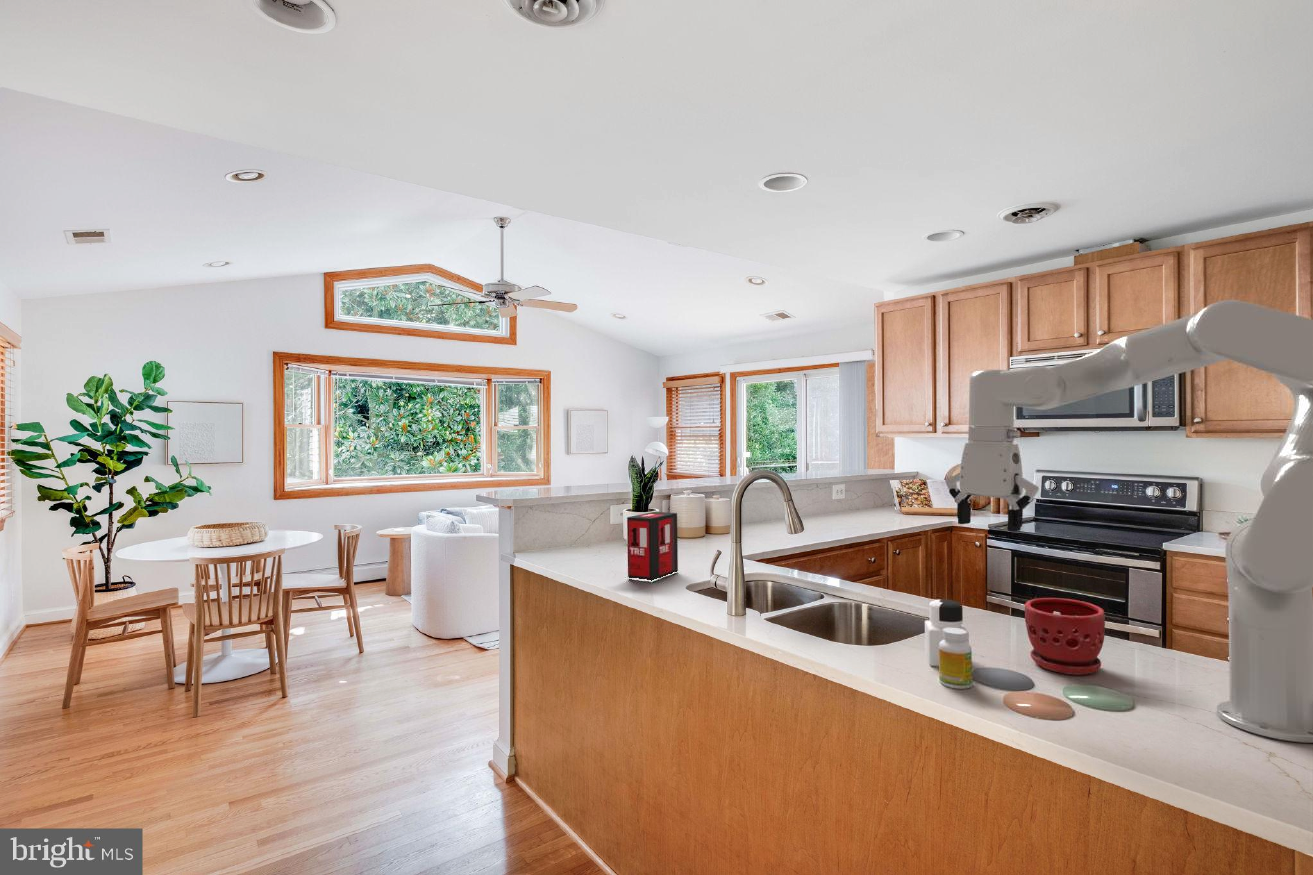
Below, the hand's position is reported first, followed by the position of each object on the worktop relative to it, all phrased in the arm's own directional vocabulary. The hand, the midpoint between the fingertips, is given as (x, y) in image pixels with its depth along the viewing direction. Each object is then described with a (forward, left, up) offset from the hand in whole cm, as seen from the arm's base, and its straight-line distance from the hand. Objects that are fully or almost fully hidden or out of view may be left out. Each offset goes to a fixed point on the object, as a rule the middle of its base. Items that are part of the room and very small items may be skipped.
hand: (988, 527), depth 122 cm
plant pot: (-14, -9, -28) cm, 32 cm away
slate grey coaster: (-2, +2, -28) cm, 28 cm away
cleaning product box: (+92, -60, -28) cm, 114 cm away
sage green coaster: (-16, +6, -28) cm, 33 cm away
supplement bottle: (+6, +7, -28) cm, 30 cm away
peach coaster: (-6, +13, -28) cm, 32 cm away
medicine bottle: (+7, -5, -28) cm, 29 cm away
